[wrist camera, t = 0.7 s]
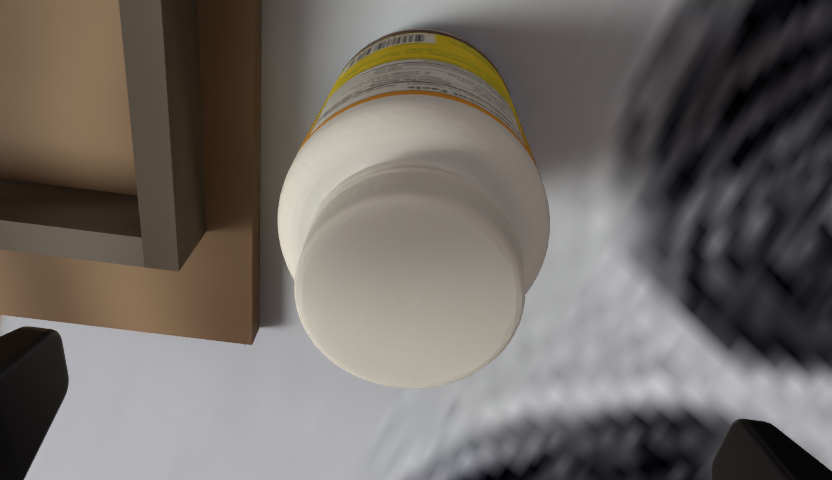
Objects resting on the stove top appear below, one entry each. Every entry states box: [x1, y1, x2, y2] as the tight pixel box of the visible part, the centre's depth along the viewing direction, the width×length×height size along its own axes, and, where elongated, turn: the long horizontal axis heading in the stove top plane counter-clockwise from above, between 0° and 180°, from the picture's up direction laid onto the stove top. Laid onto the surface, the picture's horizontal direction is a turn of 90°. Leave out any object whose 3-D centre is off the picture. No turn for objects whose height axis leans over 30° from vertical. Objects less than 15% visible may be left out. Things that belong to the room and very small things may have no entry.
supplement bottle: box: [278, 29, 550, 388], centre depth 15 cm, size 6×6×10 cm
